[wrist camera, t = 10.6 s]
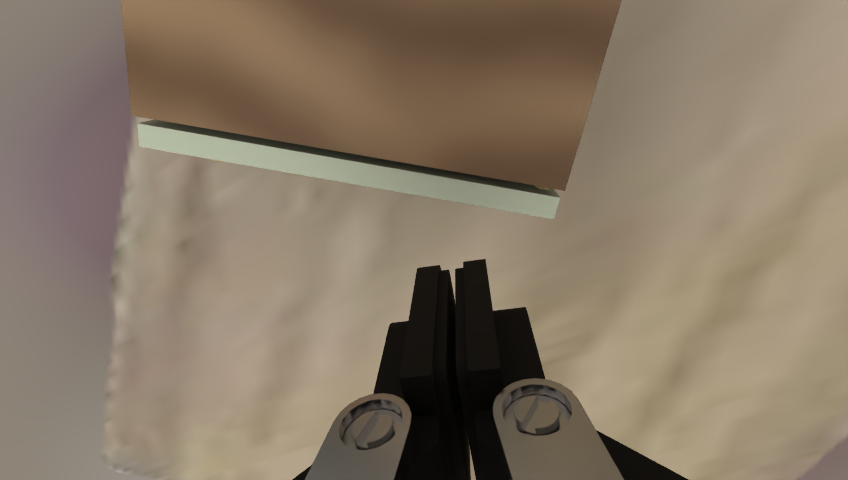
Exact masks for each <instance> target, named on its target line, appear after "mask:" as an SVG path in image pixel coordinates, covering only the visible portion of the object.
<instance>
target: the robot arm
mask: <svg viewBox="0 0 848 480" xmlns="http://www.w3.org/2000/svg"><path fill="white" fill-rule="evenodd" d="M463 267H464V268H458V269H455V298H456V305H455V299H454V294H453V288H452V282H451V277H450V272H449V270H443V271H441V268H440V265H437V266H429V267H422V268H417V273H416V279H415V285H414V291H413V297H412V303H411V309H410V315H409V321H405V322H396V323H391V324H390V326H389V329H388V333H387V337H386V342H385V346H384V350H383V355H382V359H381V363H380V368H379V372H378V376H377V381H376V385H375V389H374V394H371V395H368V396H365V397H362V398H359V399H357V400H356V401H354V402H352V403H350V404H349V405H348V406H347V407H345V408H344V409H343V410H342V411H341V412H340V413H339V415H338V416H337V417H336V419H335V420H334V422H333V424H332V426H331V428H330V430H329V432H328V434H327V436H326V438H325V440H324V442H323V444H322V446H321V448H320V450H319V452H318V454H317V456H316V458H315V460H314V462H313V464H312V465H311V466H310V467H308V468H307V469H306V470H305V471H303V472H302V473H301V474H299V475H298V476H297V477H295V478H294V479H293V480H471V475H470V450H471V455H472V460H473V465H474V471H475V476H476V480H688V479H686V478H684V477H682V476H681V475H679V474H677V473H675V472H673V471H671V470H669V469H668V468H666V467H664V466H662V465H660V464H658V463H656V462H655V461H653V460H651V459H649V458H647V457H645V456H643V455H642V454H640V453H638V452H636V451H634V450H632V449H630V448H628V447H627V446H625V445H623V444H621V443H619V442H617V441H615V440H614V439H612V438H610V437H608V436H606V435H604V434H602V433H601V432H599V431H597V430H595V428H594V426H593V424H592V423H591V421H590V419H589V417H588V415H587V414H586V412H585V410H584V408H583V407H582V405H581V403H580V401H579V400H578V398H577V397H576V396H575V395H574V394H573V392H572V391H571V390H569V389H568V388H566V387H565V386H563V385H562V384H560V383H557V382H554V381H551V380H547V379H545V376H544V372H543V369H542V365H541V361H540V358H539V354H538V350H537V347H536V343H535V339H534V335H533V332H532V328H531V324H530V321H529V317H528V313H527V310H526V308H525V307H522V308H514V309H506V310H497V311H493V309H492V302H491V295H490V288H489V281H488V274H487V267H486V260H485V259H482V260H474V261H467V262H463ZM469 445H470V448H469Z"/></svg>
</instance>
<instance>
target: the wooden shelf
mask: <svg viewBox="0 0 848 480" xmlns="http://www.w3.org/2000/svg"><path fill="white" fill-rule="evenodd" d="M620 3H621V0H121V5H122V16H123V27H124V38H125V50H126V61H127V72H128V83H129V94H130V105H131V115H132V116H138V117H143V118H149V119H155V120H161V121H166V122H172V123H178V124H184V125H189V126H195V127H201V128H207V129H212V130H218V131H224V132H230V133H235V134H241V135H247V136H253V137H259V138H264V139H270V140H276V141H282V142H287V143H293V144H299V145H305V146H310V147H316V148H322V149H328V150H333V151H339V152H345V153H351V154H356V155H362V156H368V157H374V158H379V159H385V160H391V161H397V162H402V163H408V164H414V165H420V166H425V167H431V168H437V169H443V170H448V171H454V172H460V173H466V174H471V175H477V176H483V177H489V178H494V179H500V180H506V181H512V182H517V183H523V184H529V185H535V186H540V187H546V188H552V189H558V190H563V191H565V189H566V185H567V182H568V179H569V175H570V172H571V168H572V165H573V162H574V158H575V155H576V152H577V148H578V145H579V142H580V138H581V135H582V131H583V128H584V125H585V121H586V118H587V115H588V111H589V108H590V104H591V101H592V98H593V94H594V91H595V88H596V84H597V81H598V78H599V74H600V71H601V67H602V64H603V61H604V57H605V54H606V51H607V47H608V44H609V40H610V37H611V34H612V30H613V27H614V24H615V20H616V17H617V14H618V10H619V7H620Z"/></svg>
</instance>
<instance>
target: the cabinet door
mask: <svg viewBox="0 0 848 480" xmlns="http://www.w3.org/2000/svg"><path fill="white" fill-rule="evenodd" d="M137 124H138V136H139V147H145V148H150V149H156V150H162V151H167V152H173V153H179V154H184V155H190V156H196V157H202V158H207V159H211V160H214V161H221V162H230V163H236V164H241V165H247V166H253V167H259V168H264V169H270V170H276V171H281V172H287V173H293V174H298V175H304V176H310V177H316V178H321V179H327V180H333V181H338V182H344V183H350V184H355V185H361V186H367V187H373V188H378V189H384V190H390V191H395V192H401V193H407V194H412V195H418V196H424V197H430V198H435V199H441V200H447V201H452V202H458V203H464V204H469V205H475V206H481V207H487V208H492V209H498V210H504V211H509V212H515V213H521V214H526V215H532V216H538V217H544V218H549V219H554V217H555V214H556V211H557V207H558V204H559V201H560V197H559V195H558V194H557V193H556V192H555V190H554V189H552V188H546V187H540V186H535V185H529V184H523V183H517V182H512V181H506V180H500V179H494V178H489V177H483V176H477V175H471V174H466V173H460V172H454V171H448V170H443V169H437V168H431V167H425V166H420V165H414V164H408V163H402V162H397V161H391V160H385V159H379V158H374V157H368V156H362V155H356V154H351V153H345V152H339V151H333V150H328V149H322V148H316V147H310V146H305V145H299V144H293V143H287V142H282V141H276V140H270V139H264V138H259V137H253V136H247V135H241V134H235V133H230V132H224V131H218V130H212V129H207V128H201V127H195V126H189V125H184V124H178V123H172V122H166V121H161V120H151V121H146V122H141V123H137Z"/></svg>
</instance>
